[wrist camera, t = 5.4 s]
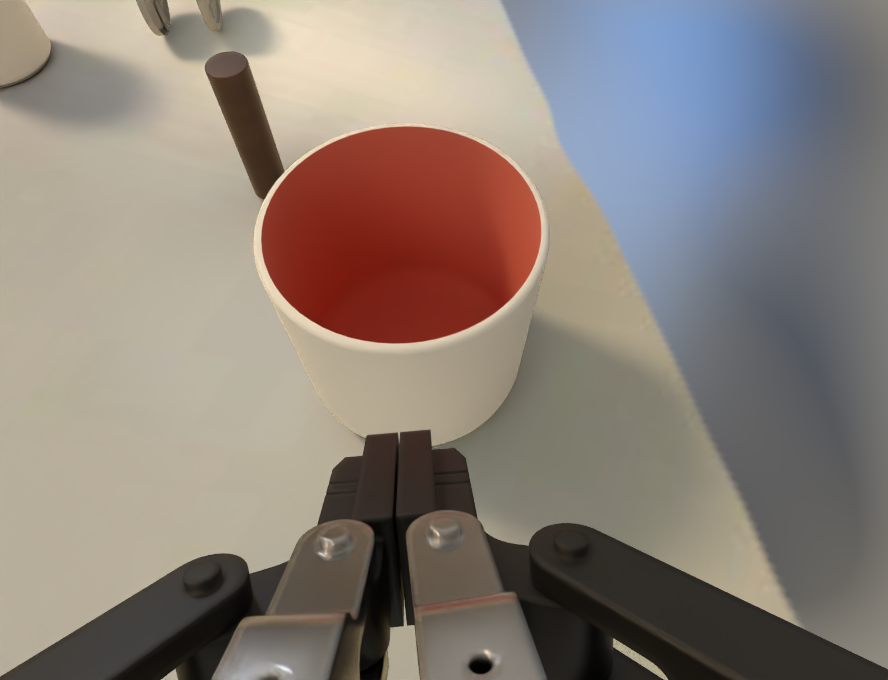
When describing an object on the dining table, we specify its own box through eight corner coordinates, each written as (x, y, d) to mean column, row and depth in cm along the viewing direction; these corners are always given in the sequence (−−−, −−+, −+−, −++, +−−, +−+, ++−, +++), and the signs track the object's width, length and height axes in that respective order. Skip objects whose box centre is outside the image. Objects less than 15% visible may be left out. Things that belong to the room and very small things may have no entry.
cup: (279, 420, 26) (195, 302, 17) (359, 256, 31) (325, 98, 22) (485, 485, 25) (507, 392, 16) (538, 302, 29) (577, 153, 21)
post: (278, 204, 33) (233, 81, 26) (248, 195, 33) (195, 72, 26) (294, 180, 34) (255, 56, 27) (265, 172, 34) (218, 47, 27)
